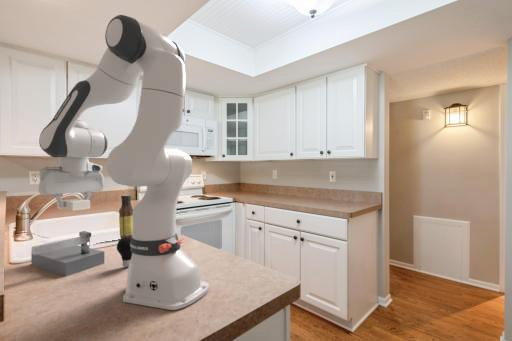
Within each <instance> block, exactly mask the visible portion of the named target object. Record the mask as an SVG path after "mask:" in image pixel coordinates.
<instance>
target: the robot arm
mask: <svg viewBox="0 0 512 341" xmlns="http://www.w3.org/2000/svg"><path fill="white" fill-rule="evenodd" d="M104 38H105V43H106V46H107V48H106V50H105V51H104V53H103V55H102V57H101V59H100V61H99V63H98V66H97V67H96V69H95V71H94V72H93V73H92V74H91V75H90V76H89V77H88V78H86V79H85V80H84V79H83V80H81V81H78V82H76V84H75V85H74V86H73V88H72V89H71V90H70V92H69V93H68V95H67V96H66V98H65V99H64V101H63V102H62V104H61V105H60V107H59V109H57V112H56V113H55V115H54V117H53V118H52V120H50V122H49V123H48V124H47V125H46V126H45V127H44V128H43V129H42V131H41V132H40V135H39V140H38V142H39V147H40V148H41V150H42V151H43V152H44V153H45V154H46V155H48V156H50V157H51V158H55V159H56V158H58V166H45V167H43V168H41V169H40V171H39V183H38V193H39V194H40V195H42V196H52V195H54V198H55V200H56V202H57V201H58V202H59V207H66V202H64V201H63V200H64V199H63V198H64V195H65V194H66V195H67V194H76V193H78V194H79V193H83V195H84V198H82V200H90V198H91V196H92V192H101V191H103V190H104V187H105V178H104V174H103V173H102V171H103V166H102V165H100V164H96V163H94V162H91V161H90V160H89V159H90V158H98V157H101V156H103V155H104V154H105V153H106V151H107V150H108V139H107V137H106V135H105V133H104V132H102V131H101V130H97V129H95V128H92V127H90V126H89V125H88V123H87V122H85V121H82V120H80V118H81V116H82V114H83V113H84V112H85V111H86V110H88V109H90V108H93V107H96V106H102V105H103V106H104V105H115V104H120V103H124V101H127V99H129V98H130V96H132V94H133V92H134V90H135V87H136V85H137V84H138V81H139V79H140V76H141V74H142V73H143V77H142V81H141V83H142V84H141V88H140V89H141V90H140V95H139V96H140V98H139V105H138V111H137V116H136V119H135V122H134V125H133V126H132V129H131V131H130V133H129V134H128V136H127V137H126V138H125V139H124V140H123V141H122V142H120V144H118V145H116V146H115V147H113V149H111V151H110V152H109V154H108V156H107V159H106V171H107V173H108V176H109V177H110V178H111V180H112V181H113V182H114V183H115V184H118V185H122V186H127V187H134V188H136V187H137V188H138V187H146V191H145V193H144V195H143V197H142V198H141V199H140V200H139V201H138V202H137V203H136V204H135V205H134V207H133V208H132V209H133V237H131V243H130V246H131V252H132V257H131V261H130V264H129V267H127V268H128V269H127V270H128V271H127V277H126V278H127V280H126V288H125V291H124V292H125V293H124V294H123V296H122V302H123V303H126V304H127V303H128V304H135V305H141V306H146V307H151V308H159V309H163V310H170V311H176V310H180V309H182V308H185V307H189V305H192V304H194V303H195V302H196V301H198V300H200V299H201V298H202V297H204V296H205V295H206V294H207V293H208V292H209V290H210V284H209V282H206V281H204V280H201V271H200V268H199V266H198V265H197V263H196V262H194V261H193V260H192V259H191V258H190V256H188V254H186V253H185V251H183V249H182V247H181V244H183V243H184V242H183V240H184V238H181V239H179V237H178V234H177V233H176V229H177V228H176V225H177V224H176V223H177V222H176V221H177V206H178V201H179V196H180V195H181V191H182V189H183V186H184V184H185V182H186V180H187V179H189V177H190V176H191V175H192V172H193V169H194V168H193V167H194V164H193V160H192V157H191V156H190V154H188V153H187V152H186V151H184V150H181V149H180V148H176V147H172V146H166V145H167V142H168V140H169V139H170V137H171V135H173V133H175V132H177V131H178V130H179V129H180V127H181V126H182V121H183V120H182V119H183V113H184V112H183V111H184V104H185V98H186V85H187V84H186V82H187V81H186V66H185V65H186V64H185V63H186V56H185V55H186V54H185V52H184V50H183V49H182V48H181V46H179V45H178V43H176V42H175V41H172V40H170V39H169V38H168V37H167V36H165V35H164V34H162V33H160V32H159V31H158V30H157V29H154V28H153V27H151V26H149V25H147V24H144V23H142V22H140V21H138V20H137V19H136V18H134V17H131V16H129V15H124V14H118V15H116V16H114V17H113V18H111V20H110V21H109V22H108V24H107V26H106V30H105V36H104Z"/></svg>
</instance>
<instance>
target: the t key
mask: <svg viewBox="0 0 512 341" xmlns="http://www.w3.org/2000/svg"><path fill="white" fill-rule="evenodd" d="M91 237H92V232H91V231H85V230H83V231H79V235H78V237H72V238H69V239H63V240H57V241H53V242H48V243H44V244H39V245H34V246H31V253H32V254H33V255H36V254H40V253H45V252H49V251H54V250H58V249H62V248H67V247H71V246H76V245H78V246H81V254H87V253H89V248H90V242H91Z"/></svg>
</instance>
